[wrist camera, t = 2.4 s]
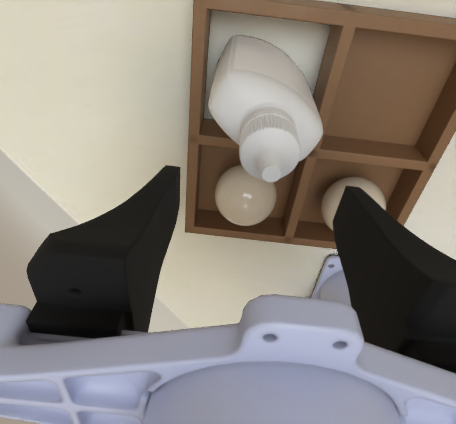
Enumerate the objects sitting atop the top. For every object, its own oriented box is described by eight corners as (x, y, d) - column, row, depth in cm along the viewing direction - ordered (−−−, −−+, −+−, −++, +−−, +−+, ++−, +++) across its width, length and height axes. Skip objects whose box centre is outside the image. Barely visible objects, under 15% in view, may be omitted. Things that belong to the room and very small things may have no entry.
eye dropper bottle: (274, 8, 20) (295, 74, 11) (312, 93, 23) (356, 205, 13) (209, 49, 22) (177, 139, 12) (252, 124, 24) (254, 244, 15)
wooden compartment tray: (378, 233, 30) (387, 255, 28) (189, 211, 29) (184, 232, 27) (483, 21, 20) (510, 32, 18) (199, -15, 19) (194, -9, 17)
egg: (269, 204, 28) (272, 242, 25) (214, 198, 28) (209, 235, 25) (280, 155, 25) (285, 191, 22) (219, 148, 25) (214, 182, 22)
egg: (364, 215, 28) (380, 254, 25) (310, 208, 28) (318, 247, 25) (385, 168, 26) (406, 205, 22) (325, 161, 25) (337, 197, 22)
